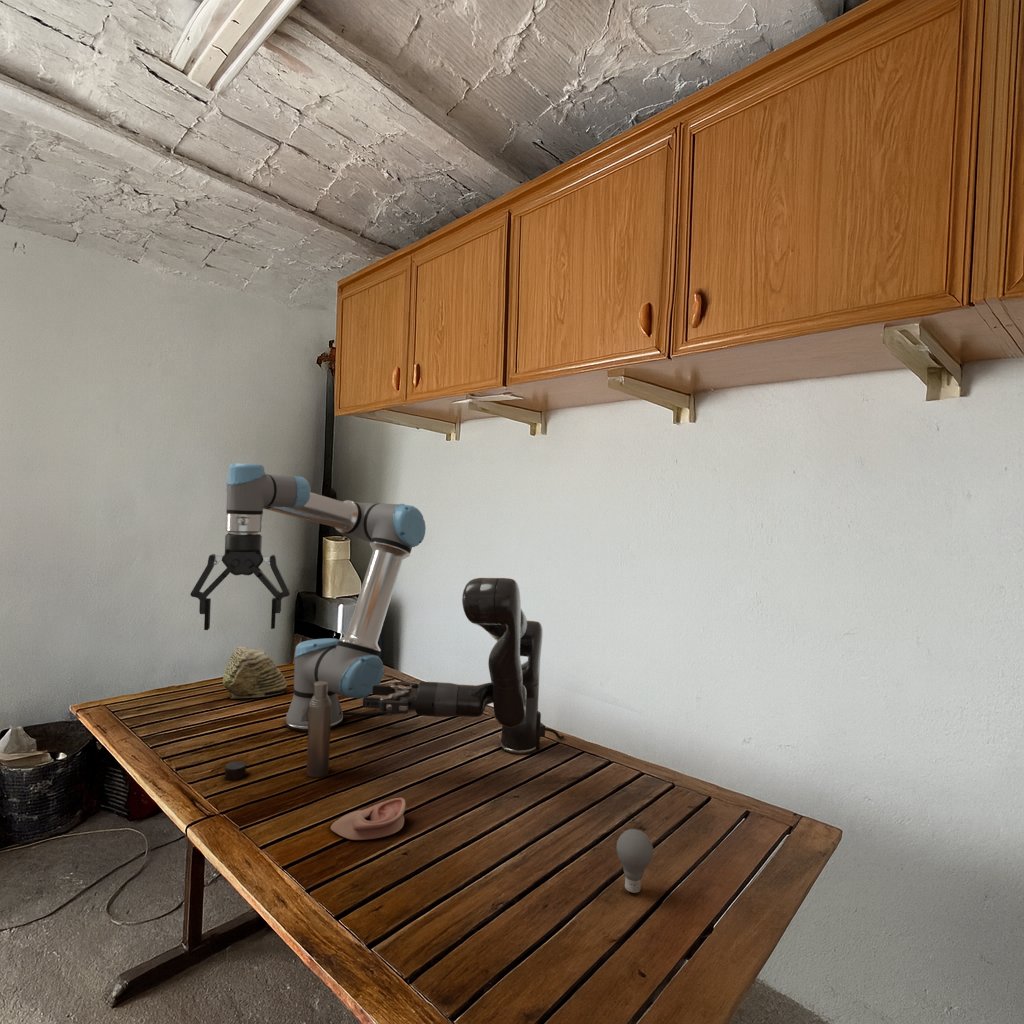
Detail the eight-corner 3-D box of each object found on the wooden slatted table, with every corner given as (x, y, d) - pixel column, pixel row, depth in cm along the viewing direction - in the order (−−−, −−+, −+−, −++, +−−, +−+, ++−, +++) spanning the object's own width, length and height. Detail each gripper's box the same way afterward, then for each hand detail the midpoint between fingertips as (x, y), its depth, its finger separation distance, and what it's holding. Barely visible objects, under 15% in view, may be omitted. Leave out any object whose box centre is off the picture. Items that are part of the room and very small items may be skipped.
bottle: (302, 776, 143) (306, 684, 143) (312, 767, 148) (315, 679, 148) (323, 778, 142) (326, 686, 142) (332, 769, 147) (335, 680, 147)
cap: (235, 781, 139) (235, 770, 139) (220, 778, 140) (221, 766, 140) (249, 774, 143) (249, 763, 143) (235, 770, 144) (235, 759, 144)
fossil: (218, 695, 195) (220, 647, 195) (278, 685, 208) (279, 640, 207) (228, 703, 189) (230, 653, 188) (289, 692, 201) (290, 645, 201)
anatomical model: (323, 814, 118) (350, 787, 130) (322, 835, 118) (350, 806, 130) (389, 824, 116) (412, 796, 127) (389, 846, 116) (411, 816, 127)
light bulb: (610, 879, 108) (613, 822, 108) (644, 879, 109) (647, 822, 109) (619, 902, 102) (622, 840, 102) (655, 901, 103) (658, 840, 103)
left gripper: (178, 532, 133) (174, 633, 134) (302, 535, 141) (299, 630, 141) (184, 530, 140) (181, 625, 141) (303, 533, 148) (299, 623, 148)
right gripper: (443, 673, 151) (376, 670, 152) (434, 693, 137) (360, 689, 137) (442, 704, 152) (375, 701, 152) (433, 727, 137) (359, 723, 138)
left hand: (240, 628), depth 141 cm, fingers open, 13 cm apart
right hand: (368, 695), depth 145 cm, fingers open, 8 cm apart
